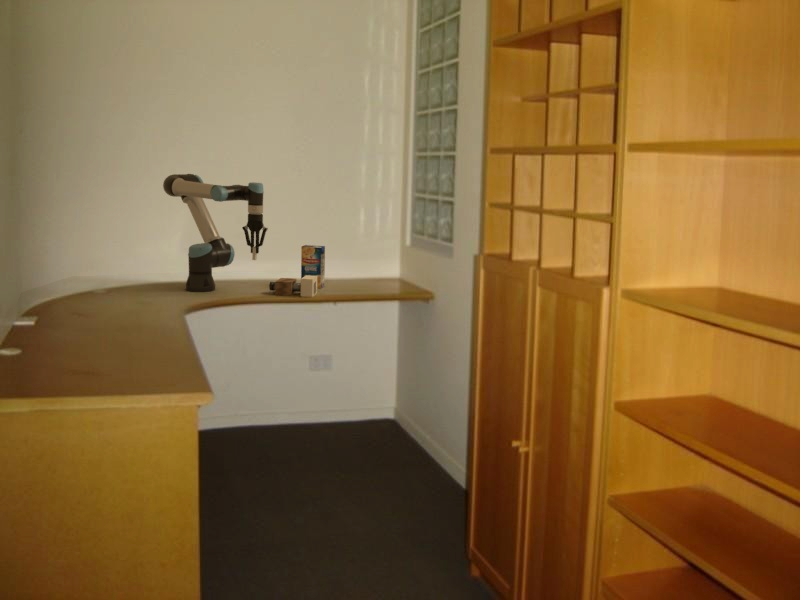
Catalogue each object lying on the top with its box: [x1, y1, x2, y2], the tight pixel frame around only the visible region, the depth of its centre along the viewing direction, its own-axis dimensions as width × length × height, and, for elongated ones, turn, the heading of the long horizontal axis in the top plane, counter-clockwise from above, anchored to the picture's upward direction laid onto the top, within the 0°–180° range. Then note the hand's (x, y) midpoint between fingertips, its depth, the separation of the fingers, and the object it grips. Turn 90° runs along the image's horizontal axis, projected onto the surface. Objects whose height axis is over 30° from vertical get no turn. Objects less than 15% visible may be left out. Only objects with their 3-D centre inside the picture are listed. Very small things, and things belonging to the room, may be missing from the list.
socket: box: [300, 275, 318, 298], centre depth 465 cm, size 6×12×9 cm, turn 174°
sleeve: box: [274, 277, 297, 297], centre depth 466 cm, size 8×12×7 cm, turn 174°
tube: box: [268, 281, 301, 293], centre depth 466 cm, size 22×4×4 cm, turn 84°
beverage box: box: [300, 244, 326, 290], centre depth 487 cm, size 7×11×22 cm, turn 77°
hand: (254, 259), depth 466 cm, fingers closed
